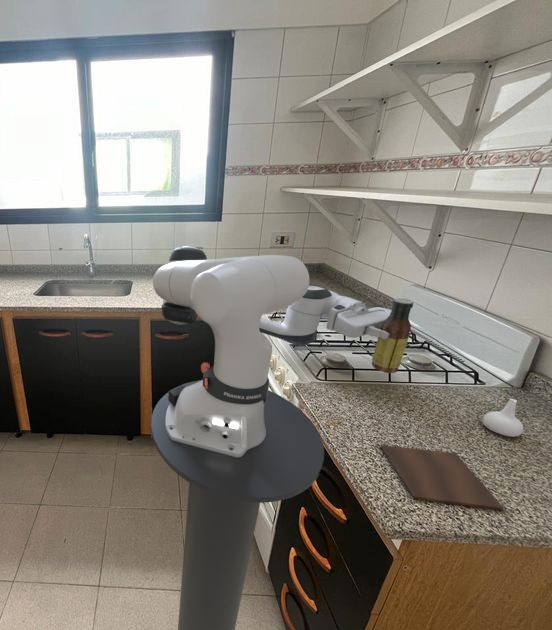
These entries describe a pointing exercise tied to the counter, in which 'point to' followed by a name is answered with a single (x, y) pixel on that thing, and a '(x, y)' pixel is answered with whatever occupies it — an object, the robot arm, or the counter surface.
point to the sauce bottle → (393, 337)
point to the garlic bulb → (504, 421)
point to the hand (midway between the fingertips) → (398, 333)
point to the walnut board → (439, 477)
